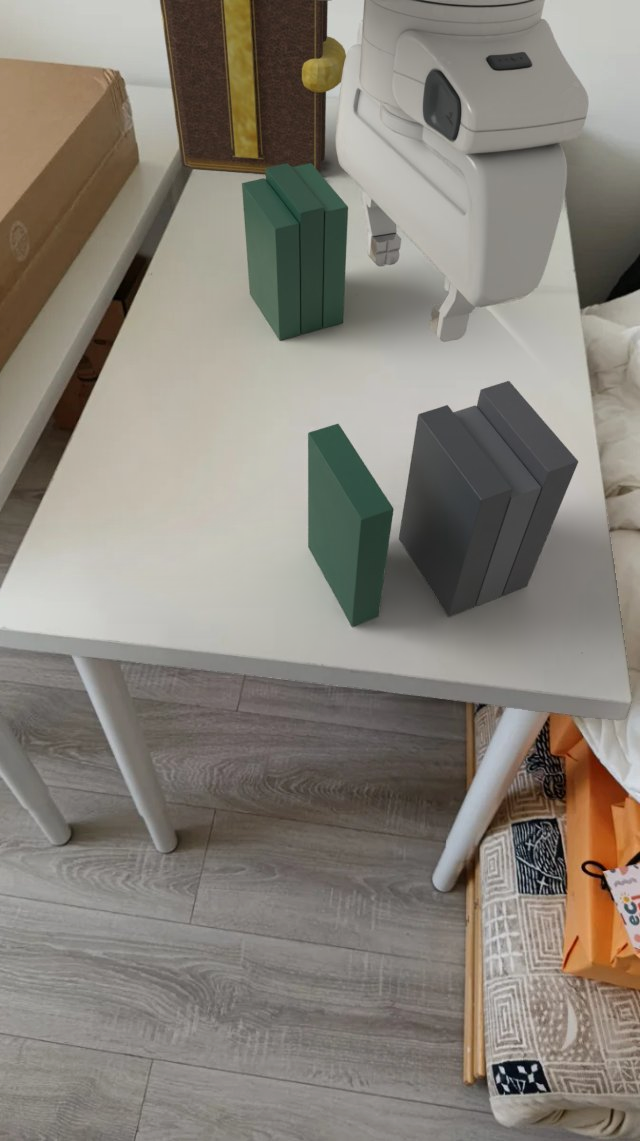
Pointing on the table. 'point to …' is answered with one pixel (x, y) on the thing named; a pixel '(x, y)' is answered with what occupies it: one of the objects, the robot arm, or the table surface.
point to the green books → (296, 249)
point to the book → (250, 81)
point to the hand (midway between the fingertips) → (412, 295)
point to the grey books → (482, 497)
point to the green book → (347, 523)
